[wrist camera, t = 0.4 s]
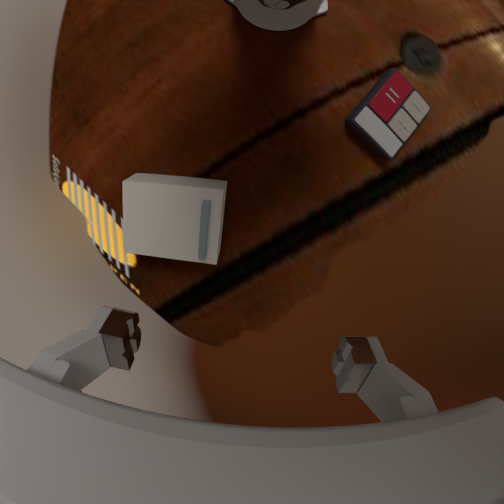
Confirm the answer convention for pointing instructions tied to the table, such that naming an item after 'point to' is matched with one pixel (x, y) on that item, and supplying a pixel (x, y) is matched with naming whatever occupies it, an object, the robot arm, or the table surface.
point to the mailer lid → (172, 220)
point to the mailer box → (185, 181)
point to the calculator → (388, 114)
